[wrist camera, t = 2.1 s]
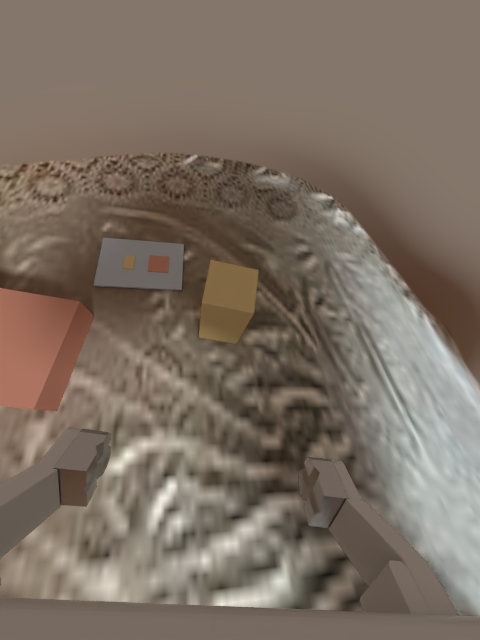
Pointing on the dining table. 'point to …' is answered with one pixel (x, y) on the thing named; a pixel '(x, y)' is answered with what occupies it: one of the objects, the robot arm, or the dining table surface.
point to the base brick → (38, 347)
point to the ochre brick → (227, 301)
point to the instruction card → (140, 264)
